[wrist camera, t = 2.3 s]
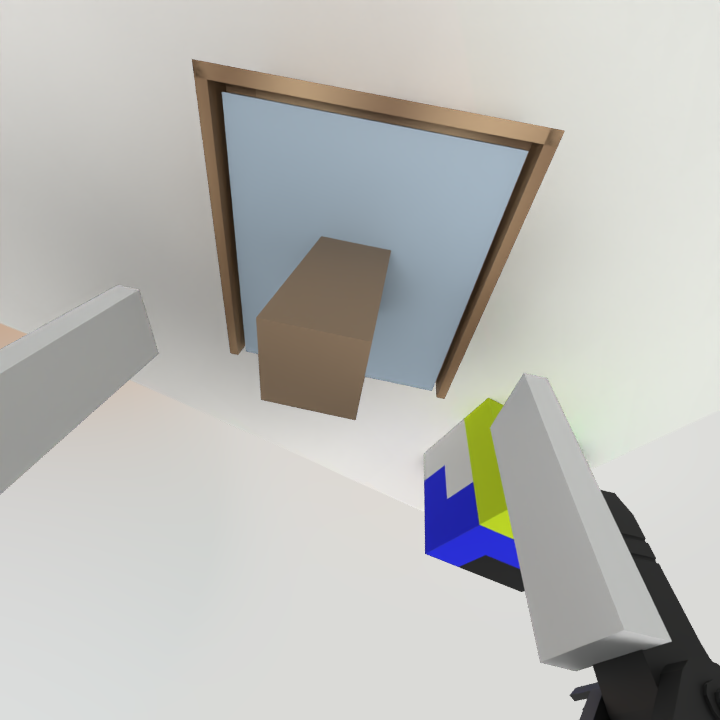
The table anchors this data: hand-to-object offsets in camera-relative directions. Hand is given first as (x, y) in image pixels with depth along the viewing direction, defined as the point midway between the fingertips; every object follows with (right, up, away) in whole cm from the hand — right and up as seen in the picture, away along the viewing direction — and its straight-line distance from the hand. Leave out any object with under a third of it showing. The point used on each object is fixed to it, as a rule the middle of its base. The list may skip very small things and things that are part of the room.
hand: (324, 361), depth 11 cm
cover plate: (+1, +5, +6) cm, 8 cm away
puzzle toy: (+15, -9, +21) cm, 27 cm away
